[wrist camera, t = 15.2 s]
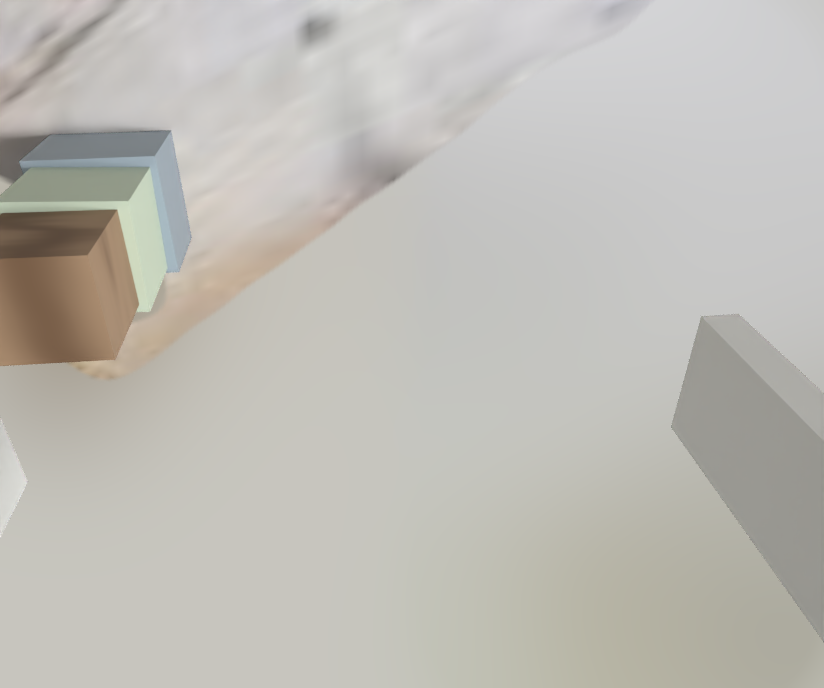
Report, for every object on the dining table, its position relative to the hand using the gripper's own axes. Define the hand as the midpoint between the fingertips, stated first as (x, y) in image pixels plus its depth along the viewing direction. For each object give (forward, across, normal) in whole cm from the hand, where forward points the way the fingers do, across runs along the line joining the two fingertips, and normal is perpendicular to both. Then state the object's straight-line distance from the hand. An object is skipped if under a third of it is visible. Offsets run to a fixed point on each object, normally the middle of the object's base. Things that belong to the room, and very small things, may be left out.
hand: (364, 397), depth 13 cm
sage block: (+33, -15, -9) cm, 37 cm away
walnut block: (+27, -15, -9) cm, 32 cm away
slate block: (+39, -15, -9) cm, 43 cm away
